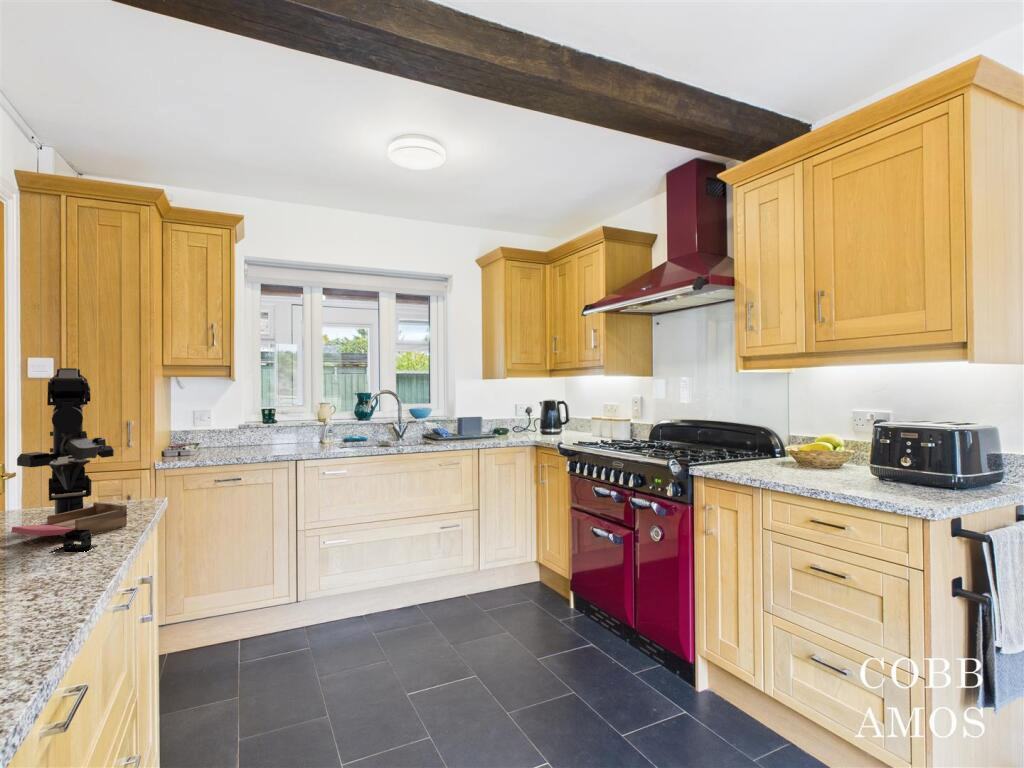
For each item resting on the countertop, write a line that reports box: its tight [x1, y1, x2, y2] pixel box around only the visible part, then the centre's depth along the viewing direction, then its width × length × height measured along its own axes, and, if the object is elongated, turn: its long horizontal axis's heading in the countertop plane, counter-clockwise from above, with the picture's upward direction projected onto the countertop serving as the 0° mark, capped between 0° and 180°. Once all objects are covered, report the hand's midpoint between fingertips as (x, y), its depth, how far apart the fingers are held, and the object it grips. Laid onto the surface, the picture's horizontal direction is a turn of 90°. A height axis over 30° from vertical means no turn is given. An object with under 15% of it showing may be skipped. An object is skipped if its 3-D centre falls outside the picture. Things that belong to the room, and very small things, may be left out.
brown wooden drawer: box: [46, 501, 128, 537], centre depth 140 cm, size 11×12×6 cm
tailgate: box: [10, 524, 75, 539], centre depth 130 cm, size 10×2×8 cm
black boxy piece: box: [48, 530, 99, 554], centre depth 125 cm, size 12×7×5 cm, turn 94°
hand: (68, 489), depth 136 cm, fingers closed
